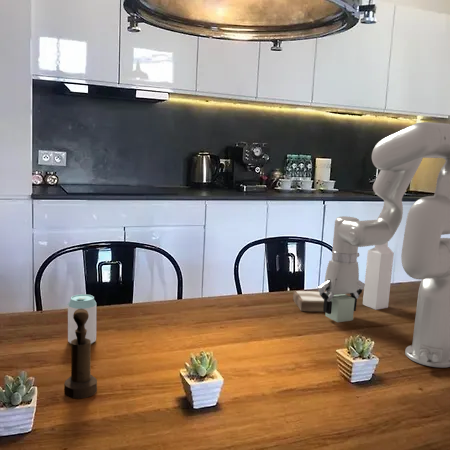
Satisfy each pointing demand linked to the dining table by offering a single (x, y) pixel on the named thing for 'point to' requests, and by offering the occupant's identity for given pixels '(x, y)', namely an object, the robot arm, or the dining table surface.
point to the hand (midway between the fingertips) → (339, 311)
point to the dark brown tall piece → (80, 362)
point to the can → (90, 305)
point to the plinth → (308, 300)
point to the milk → (378, 277)
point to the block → (341, 308)
